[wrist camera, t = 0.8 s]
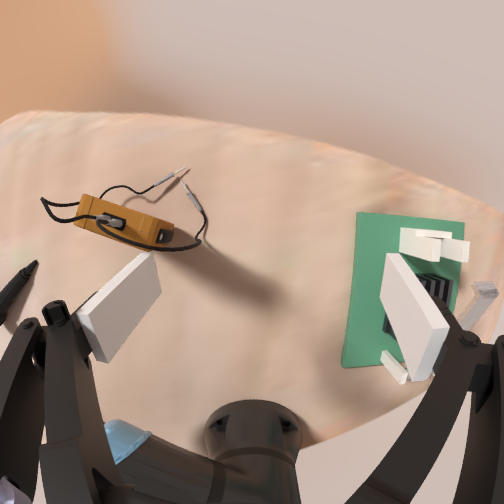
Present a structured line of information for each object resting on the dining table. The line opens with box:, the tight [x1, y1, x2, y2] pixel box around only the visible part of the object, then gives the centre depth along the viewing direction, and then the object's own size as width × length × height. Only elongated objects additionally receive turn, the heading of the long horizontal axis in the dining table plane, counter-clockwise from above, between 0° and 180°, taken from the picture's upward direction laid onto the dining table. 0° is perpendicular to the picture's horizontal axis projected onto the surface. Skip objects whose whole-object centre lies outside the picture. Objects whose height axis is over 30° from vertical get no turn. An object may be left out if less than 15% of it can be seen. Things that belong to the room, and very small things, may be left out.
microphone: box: [0, 260, 37, 326], centre depth 35 cm, size 5×5×19 cm
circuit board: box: [341, 212, 470, 384], centre depth 31 cm, size 21×18×9 cm
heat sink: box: [382, 273, 454, 342], centre depth 32 cm, size 8×8×5 cm
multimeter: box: [40, 166, 206, 252], centre depth 23 cm, size 15×10×20 cm
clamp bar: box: [405, 281, 499, 380], centre depth 25 cm, size 17×4×2 cm
